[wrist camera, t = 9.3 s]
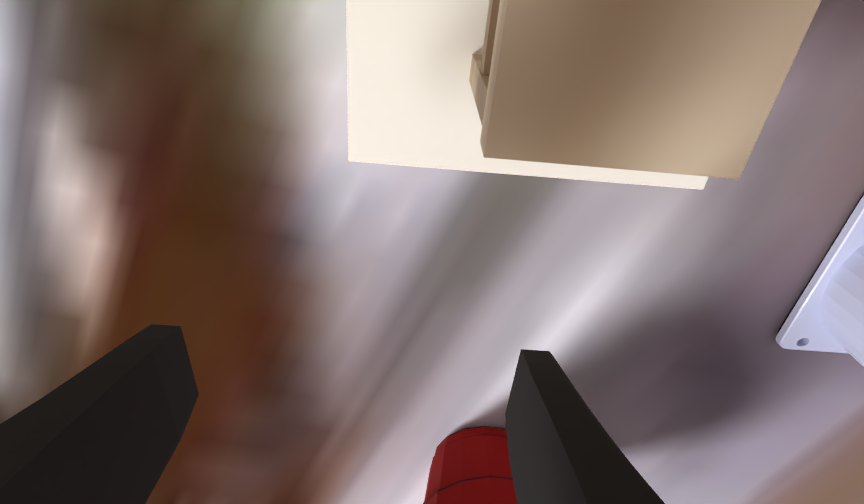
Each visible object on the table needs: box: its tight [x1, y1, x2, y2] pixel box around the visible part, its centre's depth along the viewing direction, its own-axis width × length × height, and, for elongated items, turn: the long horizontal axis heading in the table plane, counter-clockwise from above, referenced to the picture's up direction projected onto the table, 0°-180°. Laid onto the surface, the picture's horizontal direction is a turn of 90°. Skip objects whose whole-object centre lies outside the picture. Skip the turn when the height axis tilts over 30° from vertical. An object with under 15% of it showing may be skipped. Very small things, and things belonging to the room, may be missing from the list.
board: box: [346, 0, 708, 190], centre depth 14 cm, size 13×11×1 cm
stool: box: [469, 0, 821, 179], centre depth 11 cm, size 5×5×7 cm
